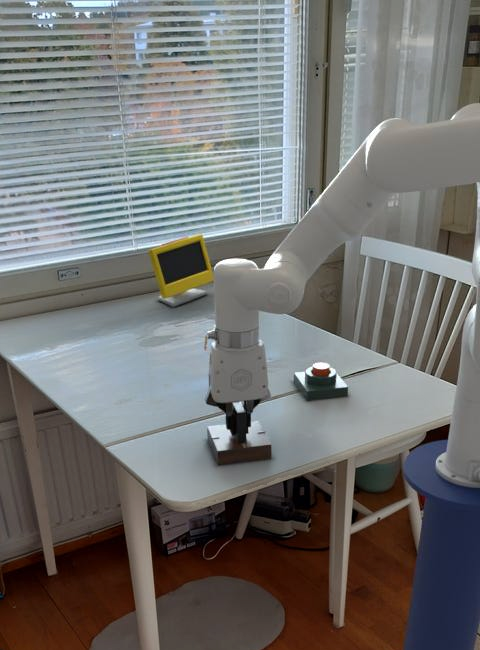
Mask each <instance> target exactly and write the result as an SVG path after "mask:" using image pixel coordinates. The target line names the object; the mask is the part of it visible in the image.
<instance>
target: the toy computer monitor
mask: <svg viewBox="0 0 480 650" xmlns="http://www.w3.org/2000/svg"><path fill="white" fill-rule="evenodd" d="M148 255H149V258H150V261H151V266H152V268H153V272H154V274H155V278H156V282H157V285H158V289H159V292H160V295H159V296H157V298H158V301H159V302H161V303H164V304H166V305H168V306H170V307H172V308H174V307H177V306H180V305H182V304H185V303H188V302H190V301H193V300H195V299H198V298H201V297H204V296H206V295H207V290H203V289H199V288H198V287H201V286H204V285H206V284H208V283H209V284H210V283H212V282H214V281H213V272H214V271H213V268H212V264H211V262H210V261H211V260H210V257H209V254H208V249H207V247H206V243H205V239H204V235H203V233H200V234H199V233H198V234H196V235H194V236H184V237H180V238H178V239H174V240H171V241H168V242H165V243H161V246H157V247H154V248H151V249H148Z"/></svg>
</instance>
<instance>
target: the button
mask: <svg viewBox="0 0 480 650" xmlns="http://www.w3.org/2000/svg"><path fill="white" fill-rule="evenodd" d="M312 366H313V371H312V373H313V374H314V375H318V376H325V375H328V374H329V371H330V367H331V365H330V364H329V363H326V362H315V363H313V364H312Z"/></svg>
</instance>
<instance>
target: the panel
mask: <svg viewBox="0 0 480 650" xmlns="http://www.w3.org/2000/svg"><path fill="white" fill-rule="evenodd" d="M206 435H207V436H206V437H207V442H208V444H209V447H210V449H211V452H212V454H213V457H214V459H215V461H216V464H217V466H227V465H232V464H233V465H234V464H241V463H249V462H258V461H265V460H266V461H267V460H272V443H271V441H270V440H269V437H268V436H267V434H266V431H265V430H264V429H263V427H262V425H261V423H260V421H259V420H251V427H248V434H246V442H240V443H238V442H237V440H236V437H235V435H232V434H231V432H230V430H227V428H226V423H225V424H224V423H223V424H215V425H208V426H206Z"/></svg>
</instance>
